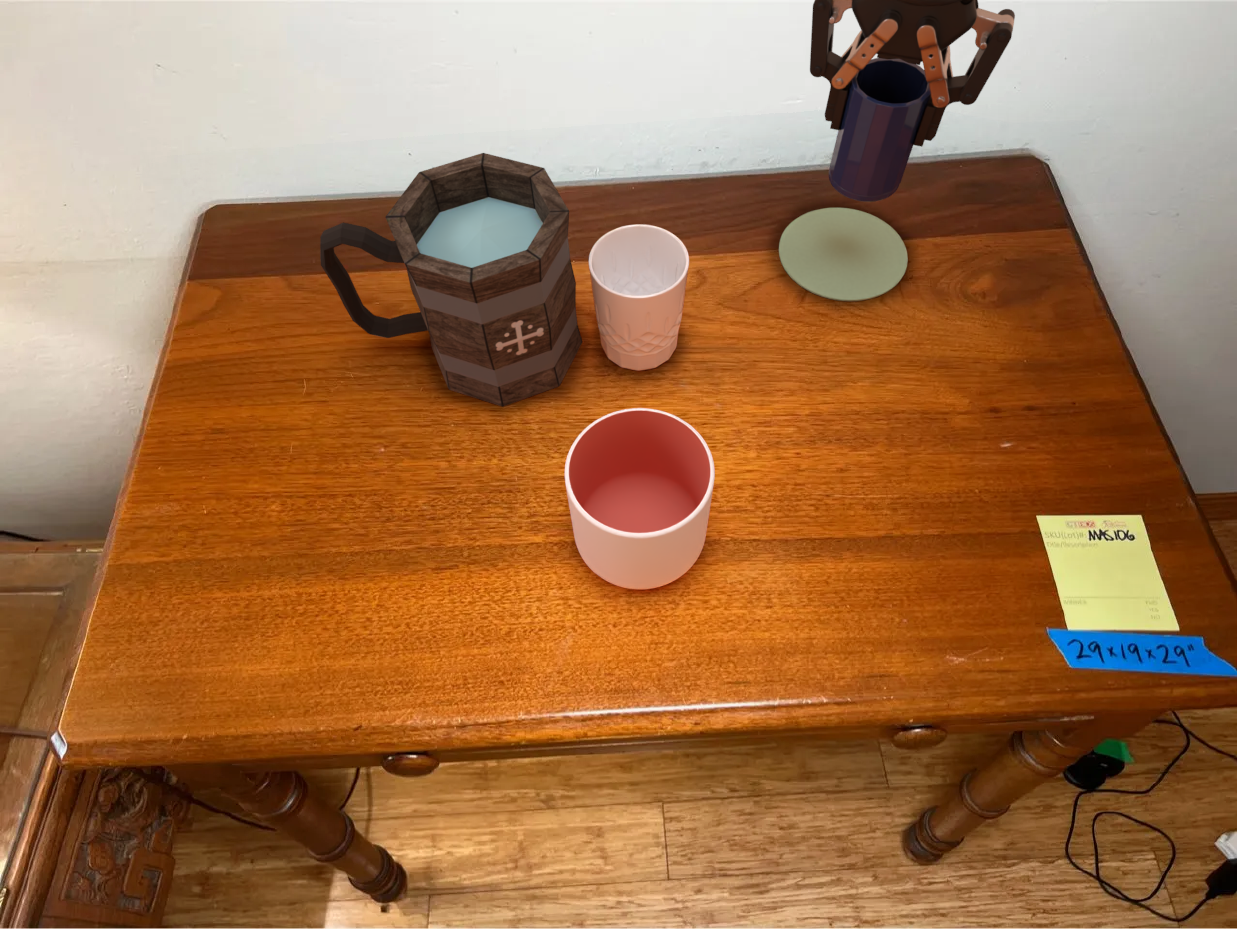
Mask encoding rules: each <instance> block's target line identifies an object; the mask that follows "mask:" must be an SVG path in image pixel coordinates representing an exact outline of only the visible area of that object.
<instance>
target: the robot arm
mask: <svg viewBox="0 0 1237 929" xmlns="http://www.w3.org/2000/svg"><path fill="white" fill-rule="evenodd" d="M849 9H851V10H852V12H853V15H854V17H855V19H856V21H857V24H858V26H859V29H860V31H859V32H858V33H857V35H856V37H854V40H853V41H852V43H851V44H850V46H849V47H847V49H846V50H845V51H844V53H843V54H842V55H839V54H837V53H836V52H834V51H833V47H834V46H833V44H834V33H835V32H834V31H835V24H837V23H839V22H841V20H842V18H843V16H844V13H845V12H846V11H847V10H849ZM811 15H812V16H811V17H812V18H811V36H810V55H809V56H810V57H809V73H810V75H811V76H813V77H814V78H821V77H823V78H824V79H826V80H827V81H828V82H829V84H830V85H829V86H830V88H829V92H828V97H827V102H826V107H825V111H824V119H825V121H826V122H831V123H830V127H829V129H830V130H834V131H838V130H839V127H840V123H841V119H842V115H843V111H844V107H845V102H846V98H847V94H848V90H849V85H850V81H851V80H852V79H853V78H854V76H855V75H856V74H857V73H858V72H859V71H861V70H862V69H863V68H864V67H865V66H866V65H867V64H868V63H869V61H870V60H872V59H874V57H875V56H876V55H877V56H876V58H882V59H901V60H903V61H905V62H908V63H911V64H916V65H918V66H920V65H921V63H922V65H923V69H924V71H925V76H926V81H927V83H929V87H930V93H931V95H930V98H929V101H928V103H927V106H926V109H925V112H924V115H923V118H922V121H921V123H920V126H919V129H918V132H917V135H916V138H915V141H914V144H913V146H917V147H923V146H924V142H925V141H928V142H932V140H933V139H934V138H935V137H936V135H937V133H938V130H939V128H940V124H941V122H942V119H943V117H944V113H945V111H946V108H947V107H948V106H950V105H951V104H953V103H961V104H962V105H964V106H969V105H970V106H971V105H972V104H974V103H975V102H977V100H978V98H979V96H980V94H981V92H982V91H983V89H984V87H985V85H986V84H987V82H988V80H989V78H990V77H991V75H992V73H993V71H994V70H995V68H996V66H997V64H998V63H999V61H1000V60H1001V57H1002V55H1003V53H1004V52H1005V50H1006V48H1007V47H1008V45H1009V44H1010V41H1011V39H1012V37H1013V36H1012V35H1013V31H1014V25H1015V18H1016V15H1015V12H1014V10H1012V9H1010V8H1003V9H1002V10H999V12H998V13H996V12H993V11H989V10H988V9H987V10H986V9H984V8H980V7H979V1H978V0H814V2H813V4H812V14H811ZM971 29H973V30H974V31H975V34H976V35H975V40H974V43H975V46H976V47H977V48H978V49H977V52H976V53H975V55H974V57H973V59H972V60H971V63H970V65H969V66H968V68H967V69H966V71H965V74H964V75H956V76H954V74H953V68H952V62H951V45H952V44H953V43H955V42H957V40H959V39H960V38H961V37H963V35H965V34H966V33H967V32H968V31H970V30H971Z"/></svg>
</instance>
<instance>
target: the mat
mask: <svg viewBox="0 0 1237 929" xmlns="http://www.w3.org/2000/svg"><path fill="white" fill-rule="evenodd" d="M778 257H779V261H780V263H781V266H782V268H783V269H784V271H785V272H786V274H787V275H788V276H789V278H791V280H792V281H794V282H795V283H796V284H797V285H798V286H800V287H801V288H802V289H804V290H806V291H808V292H809V293H812V294H814V295H816V296H819V297H821V298H825V299H828V300H832V301H840V302H861V301H867V300H871V299H874V298H877V297H880V296H883V295H885V294H886V293H889V291H891V290H892V289H894V288H895V287H896V286H897V285H898V284H899V282H901V280H902V279H903V277H904V275H905V273H906V271H907V267H908V263H909V262H908V260H909V259H908V251H907V247H906V245H905V243H904V241H903V239H902V237H901V236H900V235H899V234H898V232H897V231H896V230H895V229H894V228H893V227H892V226H891V225H889V224H888V223H887V222H885V221H884V220H883V219H881V218H879V217H877V216H875V215H873V214H871V213H869V212H868V213H867V212H865V211H863V210H858V209H854V208H848V207H825V208H820V209H815V210H811V211H808V212H806V213H804V214H802V215H800V216H799V217H797V218H795V219H794V220H792V221H791V222H790V223H789V224H788V225H787V226H786V227H785V229H784V230H783V232H782V234H781V236H780V239H779V243H778Z"/></svg>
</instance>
